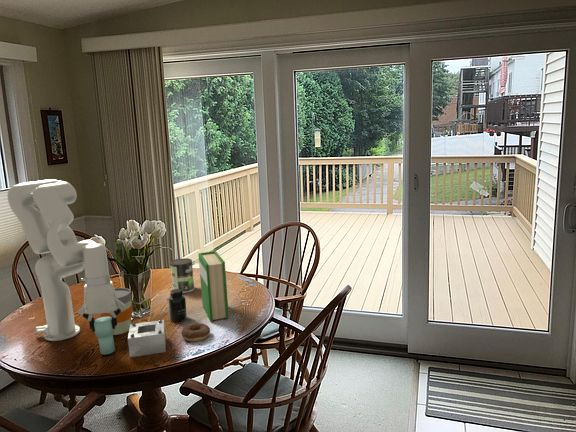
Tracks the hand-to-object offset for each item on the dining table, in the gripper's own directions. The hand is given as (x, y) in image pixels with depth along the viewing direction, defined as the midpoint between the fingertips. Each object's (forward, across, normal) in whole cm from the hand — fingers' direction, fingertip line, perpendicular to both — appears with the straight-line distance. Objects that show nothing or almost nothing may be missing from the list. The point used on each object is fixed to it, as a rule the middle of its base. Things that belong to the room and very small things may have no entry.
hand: (104, 328), depth 167 cm
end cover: (+9, 0, -1) cm, 9 cm away
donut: (+10, +31, +3) cm, 33 cm away
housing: (+9, +14, 0) cm, 17 cm away
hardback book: (+9, +40, +23) cm, 47 cm away
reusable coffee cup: (+10, +2, +19) cm, 21 cm away
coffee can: (+10, +28, +56) cm, 63 cm away
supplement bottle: (+9, +25, +22) cm, 35 cm away
